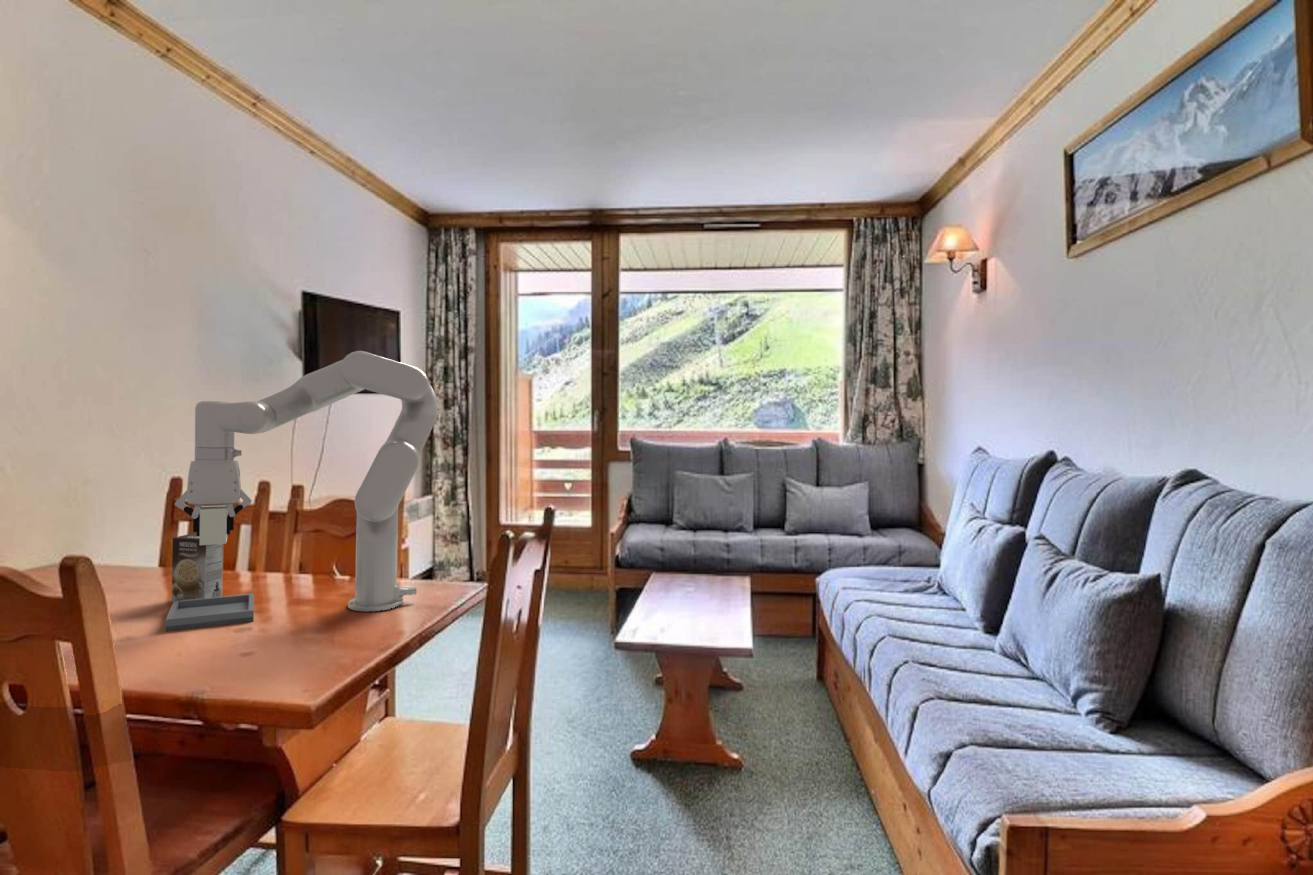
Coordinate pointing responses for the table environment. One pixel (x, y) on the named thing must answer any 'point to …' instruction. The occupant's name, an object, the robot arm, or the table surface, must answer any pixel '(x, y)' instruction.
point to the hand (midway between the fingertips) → (213, 533)
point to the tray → (210, 612)
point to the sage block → (213, 525)
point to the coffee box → (196, 569)
